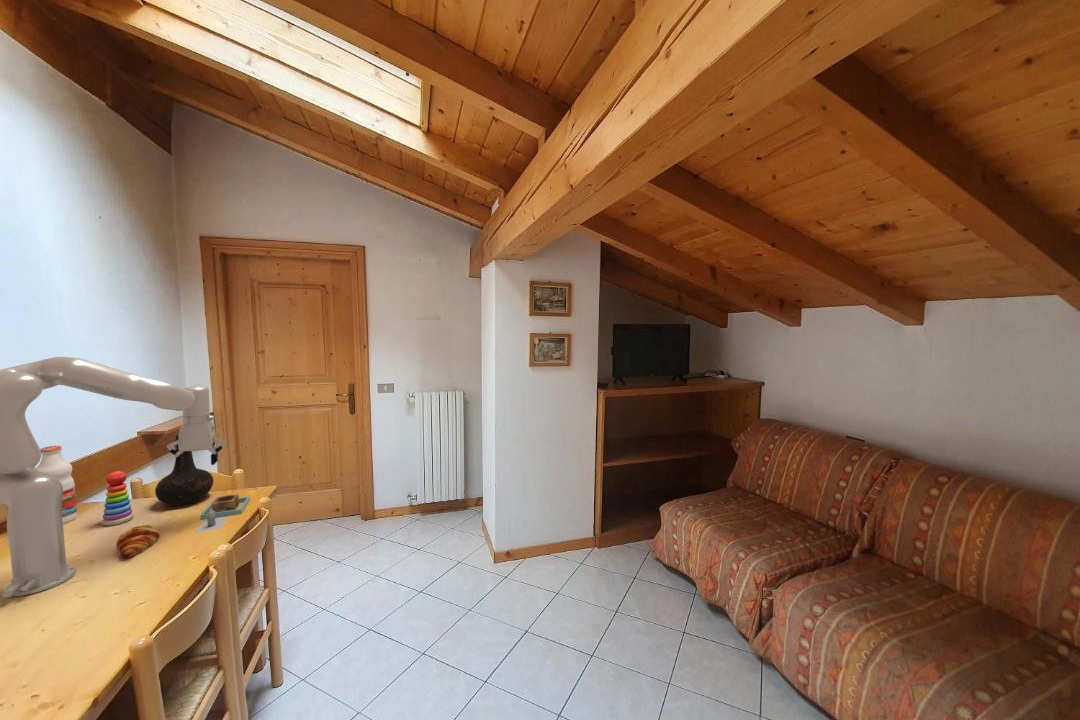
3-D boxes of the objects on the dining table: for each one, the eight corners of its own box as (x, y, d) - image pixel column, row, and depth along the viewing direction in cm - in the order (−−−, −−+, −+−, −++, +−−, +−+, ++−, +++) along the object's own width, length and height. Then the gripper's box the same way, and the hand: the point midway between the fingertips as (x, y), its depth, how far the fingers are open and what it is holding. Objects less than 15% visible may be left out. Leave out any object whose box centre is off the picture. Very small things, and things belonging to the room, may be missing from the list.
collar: (239, 504, 161) (238, 493, 160) (233, 513, 153) (232, 502, 153) (218, 507, 158) (217, 496, 158) (211, 516, 151) (210, 505, 150)
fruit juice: (43, 519, 148) (36, 446, 145) (81, 512, 153) (74, 442, 151) (32, 530, 140) (24, 453, 138) (72, 522, 146) (65, 448, 143)
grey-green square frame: (241, 515, 153) (241, 509, 153) (200, 521, 148) (200, 515, 148) (250, 501, 165) (250, 496, 164) (212, 506, 160) (212, 501, 159)
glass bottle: (149, 514, 153) (143, 443, 150) (165, 496, 168) (160, 432, 166) (208, 505, 161) (204, 437, 159) (218, 488, 177) (214, 427, 174)
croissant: (137, 544, 139) (120, 527, 136) (170, 524, 144) (154, 507, 141) (117, 574, 121) (97, 556, 119) (156, 550, 126) (137, 532, 123)
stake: (220, 529, 142) (219, 514, 142) (195, 533, 140) (194, 518, 139) (228, 518, 151) (227, 504, 150) (205, 521, 148) (204, 507, 147)
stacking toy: (117, 526, 143) (113, 476, 142) (95, 526, 144) (91, 476, 142) (139, 516, 151) (135, 468, 150) (119, 515, 151) (115, 468, 150)
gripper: (228, 416, 154) (229, 460, 155) (171, 419, 147) (172, 464, 148) (221, 420, 147) (222, 465, 148) (161, 423, 140) (162, 470, 141)
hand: (197, 465), depth 148 cm, fingers open, 9 cm apart
